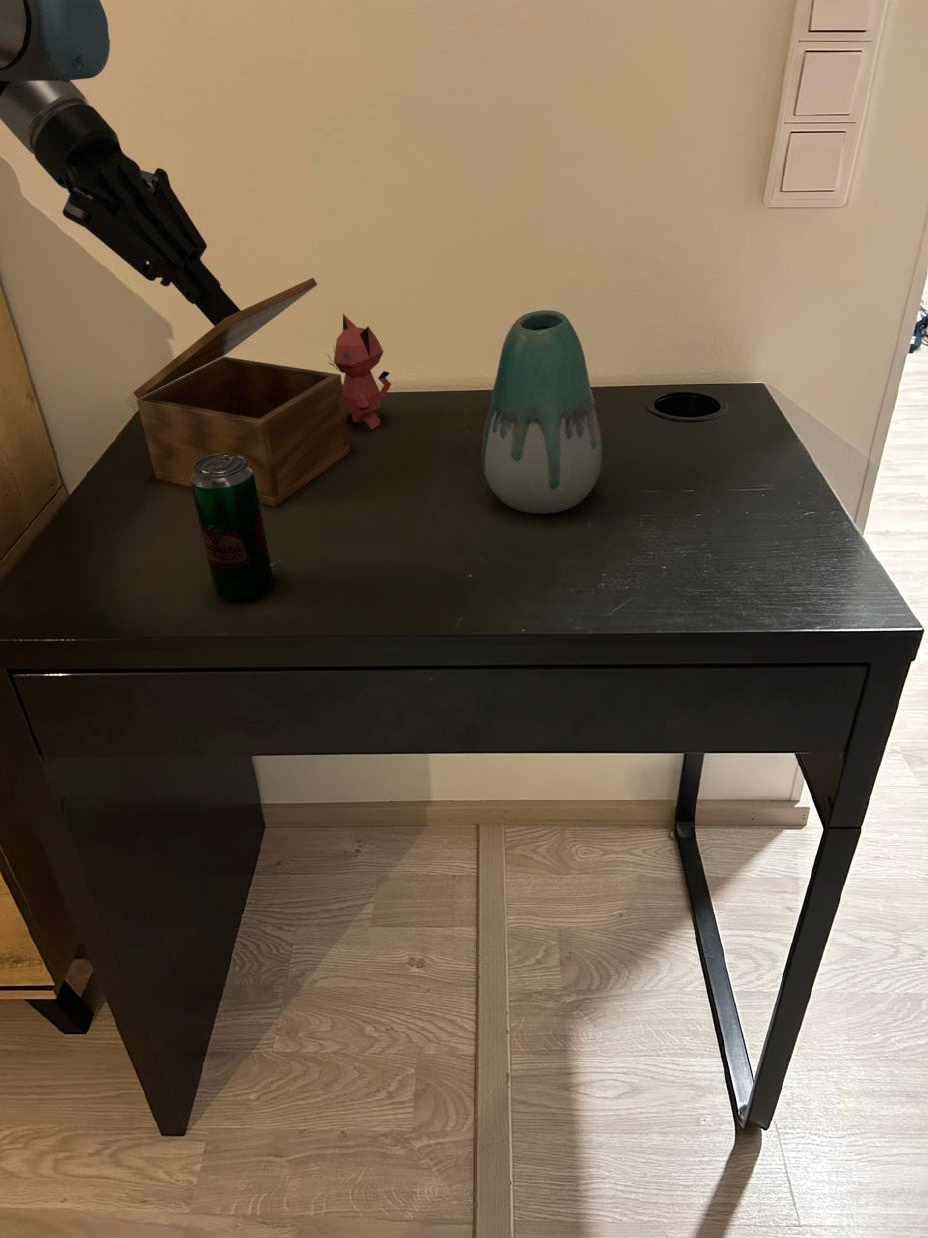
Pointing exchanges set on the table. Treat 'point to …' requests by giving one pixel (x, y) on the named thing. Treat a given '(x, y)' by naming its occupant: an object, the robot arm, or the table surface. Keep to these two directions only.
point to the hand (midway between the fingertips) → (230, 321)
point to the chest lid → (225, 337)
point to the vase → (542, 419)
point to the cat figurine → (360, 374)
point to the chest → (248, 423)
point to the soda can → (232, 526)
